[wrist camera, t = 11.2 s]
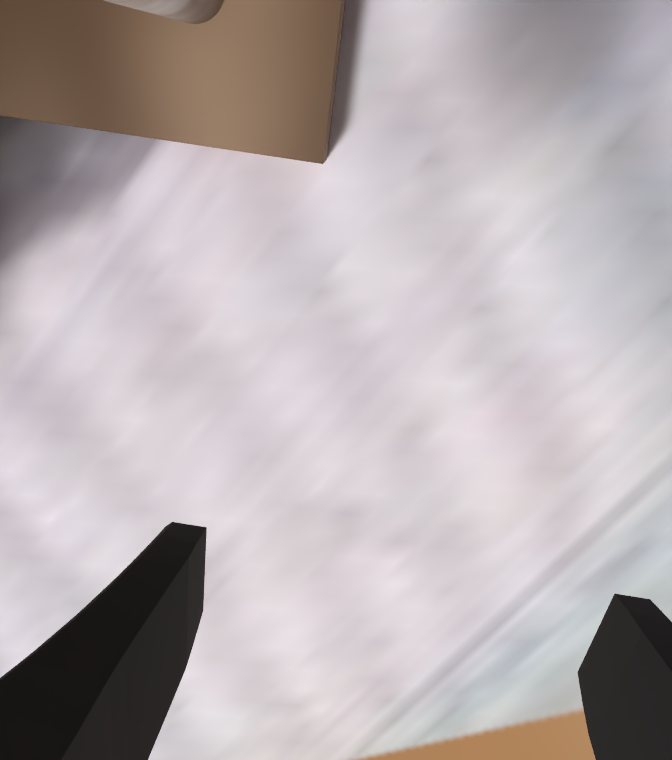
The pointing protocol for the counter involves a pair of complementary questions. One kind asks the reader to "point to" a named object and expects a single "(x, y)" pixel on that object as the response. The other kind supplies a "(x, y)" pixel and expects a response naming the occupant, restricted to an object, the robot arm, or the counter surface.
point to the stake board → (177, 70)
